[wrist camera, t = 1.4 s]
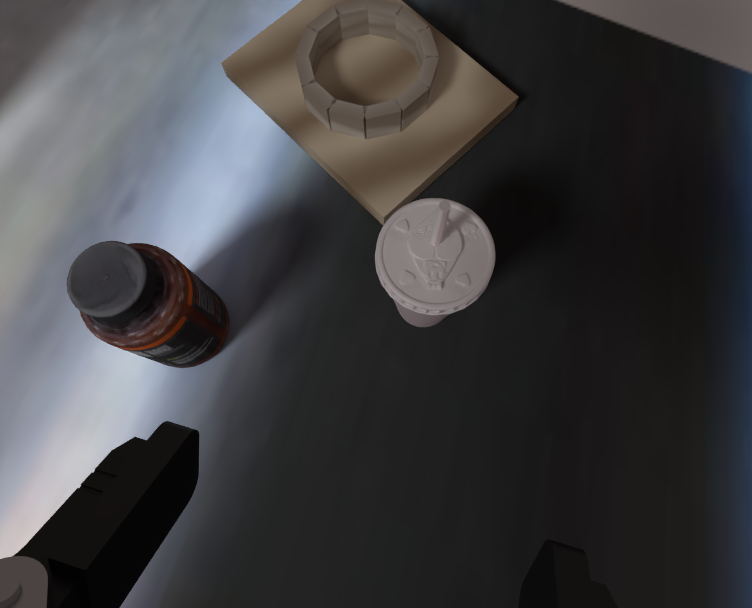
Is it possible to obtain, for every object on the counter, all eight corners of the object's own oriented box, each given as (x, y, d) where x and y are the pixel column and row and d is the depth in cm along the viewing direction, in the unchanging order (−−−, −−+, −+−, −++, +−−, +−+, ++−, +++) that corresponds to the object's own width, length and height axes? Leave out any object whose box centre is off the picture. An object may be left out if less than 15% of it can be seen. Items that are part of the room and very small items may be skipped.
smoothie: (468, 260, 38) (515, 155, 24) (468, 348, 36) (518, 288, 23) (379, 256, 38) (376, 151, 25) (375, 344, 36) (369, 283, 23)
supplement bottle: (191, 270, 38) (113, 197, 27) (249, 323, 37) (192, 270, 26) (128, 331, 37) (21, 281, 26) (186, 388, 36) (100, 361, 25)
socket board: (226, 76, 42) (210, 38, 39) (354, -24, 45) (351, -68, 41) (383, 226, 39) (383, 201, 35) (514, 109, 41) (527, 74, 37)
